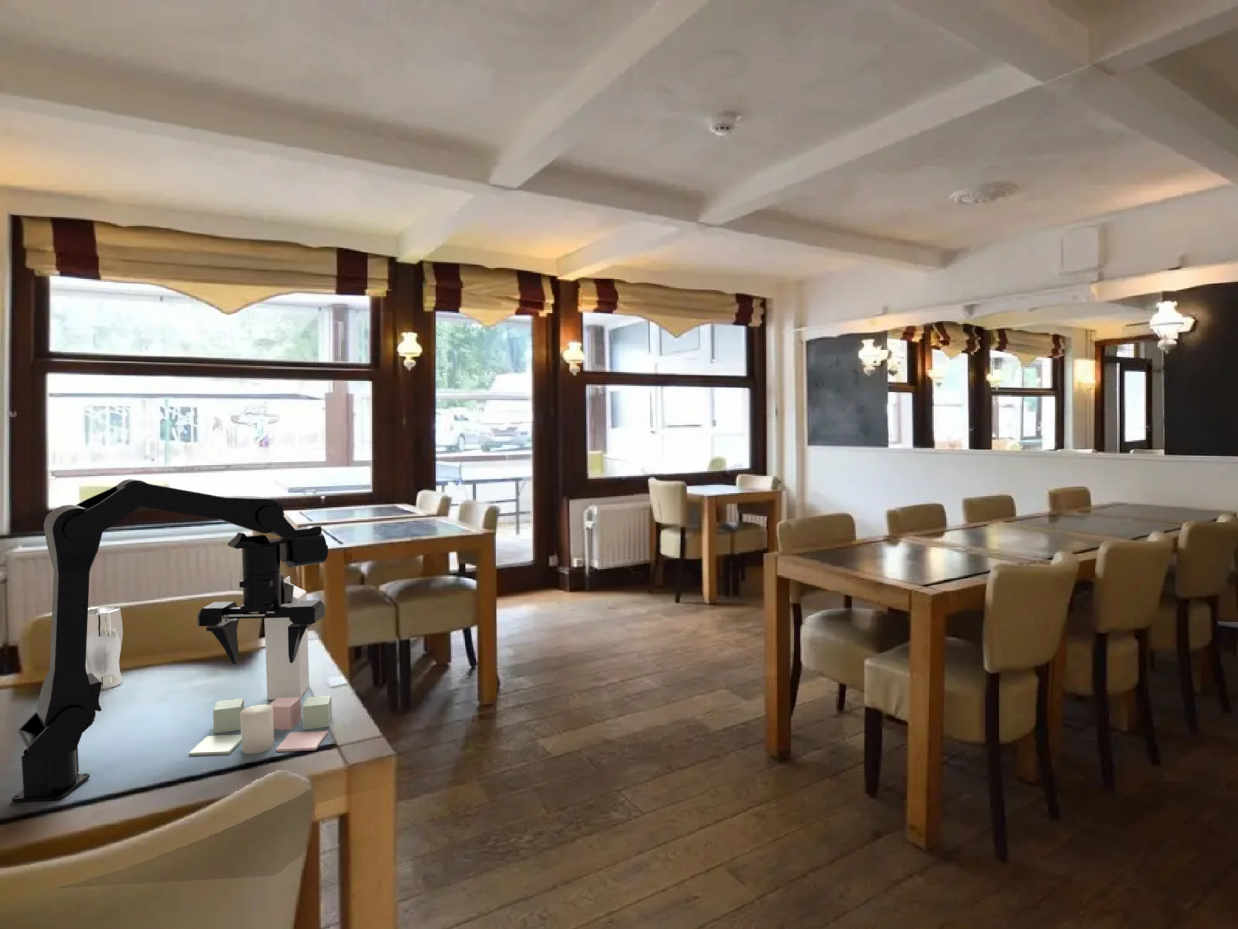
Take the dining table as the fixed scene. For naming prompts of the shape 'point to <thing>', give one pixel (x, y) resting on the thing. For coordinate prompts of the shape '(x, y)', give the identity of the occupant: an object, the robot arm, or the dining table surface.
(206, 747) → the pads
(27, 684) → the dining table surface
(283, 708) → the cube rose
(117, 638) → the beer glass
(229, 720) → the sage cube
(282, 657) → the milk
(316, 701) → the sage cube
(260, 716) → the cream rounded cylinder
